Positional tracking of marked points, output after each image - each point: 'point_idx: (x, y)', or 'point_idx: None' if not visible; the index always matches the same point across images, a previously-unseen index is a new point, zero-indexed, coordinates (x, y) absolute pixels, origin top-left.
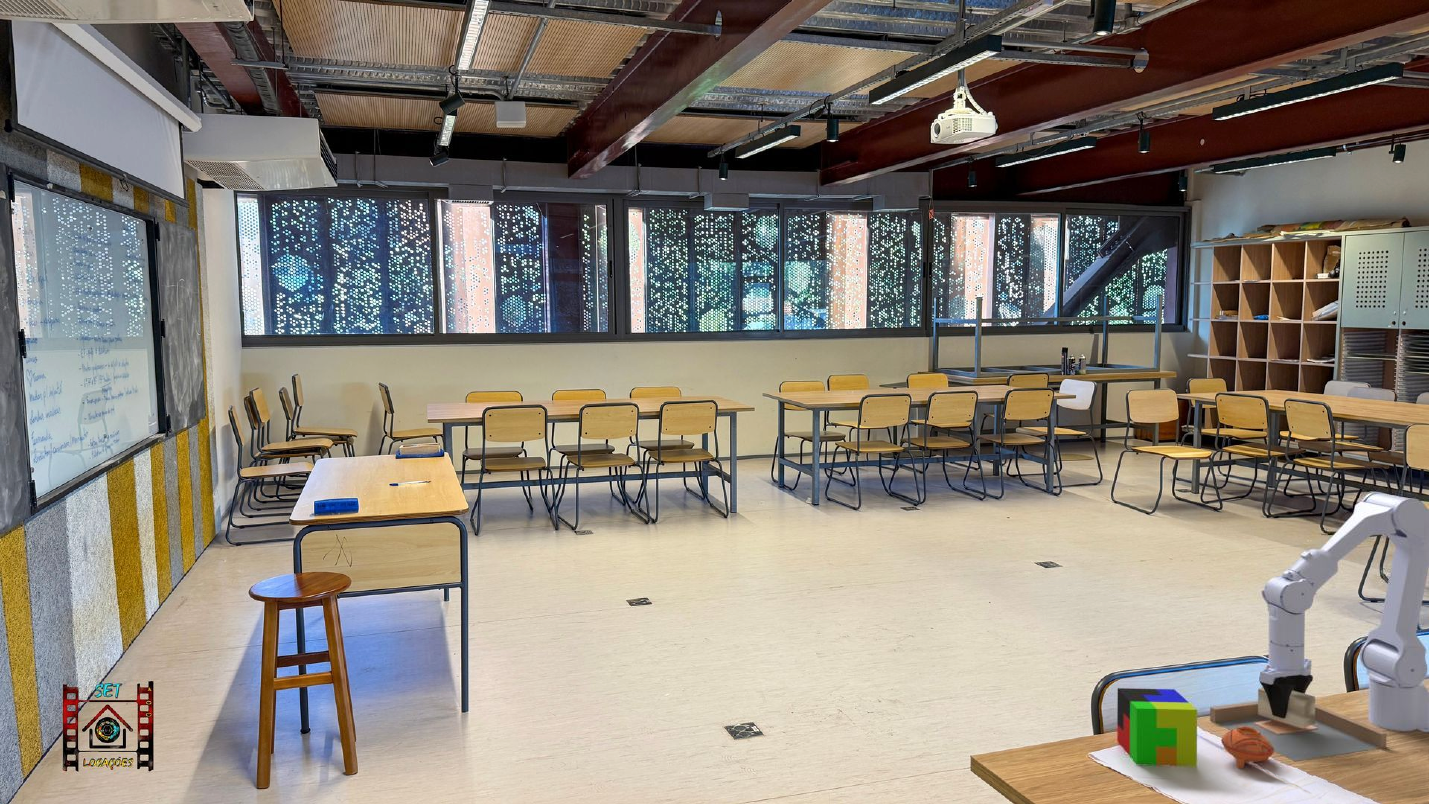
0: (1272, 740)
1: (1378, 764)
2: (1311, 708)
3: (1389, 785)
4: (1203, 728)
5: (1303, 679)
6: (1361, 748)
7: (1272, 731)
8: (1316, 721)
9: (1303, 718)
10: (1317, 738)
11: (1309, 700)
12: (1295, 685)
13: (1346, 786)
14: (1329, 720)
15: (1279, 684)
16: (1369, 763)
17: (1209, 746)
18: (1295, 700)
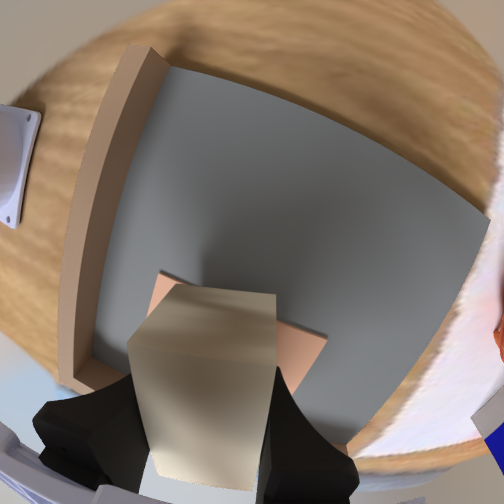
0: (388, 327)
1: (290, 40)
2: (186, 320)
3: (415, 8)
4: (370, 440)
5: (101, 446)
6: (228, 97)
7: (318, 356)
8: (103, 296)
9: (270, 313)
10: (256, 239)
11: (197, 350)
12: (130, 438)
13: (496, 90)
14: (95, 261)
15: (347, 497)
16: (306, 58)
17: (465, 385)
18: (269, 394)
